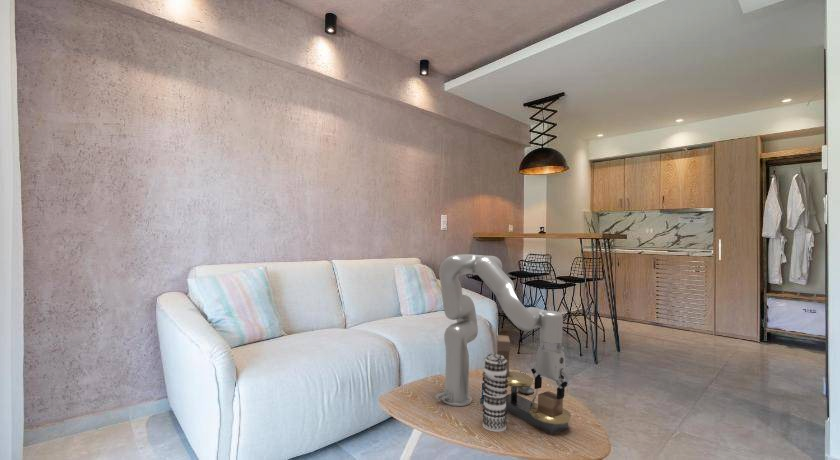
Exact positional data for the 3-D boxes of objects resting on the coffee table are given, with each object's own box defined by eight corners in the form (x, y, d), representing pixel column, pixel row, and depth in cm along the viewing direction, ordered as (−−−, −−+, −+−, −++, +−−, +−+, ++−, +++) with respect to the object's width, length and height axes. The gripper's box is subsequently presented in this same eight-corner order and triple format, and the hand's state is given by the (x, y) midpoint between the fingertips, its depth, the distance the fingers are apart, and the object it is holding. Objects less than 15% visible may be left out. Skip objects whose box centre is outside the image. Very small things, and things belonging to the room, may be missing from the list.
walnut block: (551, 417, 133) (552, 400, 133) (537, 410, 138) (538, 394, 138) (562, 413, 137) (562, 396, 137) (548, 407, 142) (548, 390, 142)
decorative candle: (509, 423, 139) (511, 353, 140) (504, 434, 131) (506, 361, 131) (485, 417, 143) (486, 350, 143) (478, 428, 134) (480, 357, 135)
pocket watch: (532, 389, 171) (532, 366, 172) (536, 396, 163) (536, 373, 163) (513, 388, 172) (514, 365, 172) (516, 395, 164) (517, 372, 164)
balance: (553, 440, 128) (554, 404, 128) (488, 405, 153) (489, 375, 154) (578, 429, 135) (579, 395, 136) (512, 398, 161) (513, 369, 161)
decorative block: (509, 385, 175) (510, 341, 175) (496, 384, 176) (497, 340, 177) (508, 376, 186) (509, 335, 186) (496, 375, 187) (497, 334, 187)
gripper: (578, 351, 133) (576, 400, 133) (538, 338, 147) (536, 383, 147) (564, 354, 129) (562, 405, 129) (524, 340, 143) (523, 386, 143)
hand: (548, 393), depth 138 cm, fingers open, 9 cm apart
